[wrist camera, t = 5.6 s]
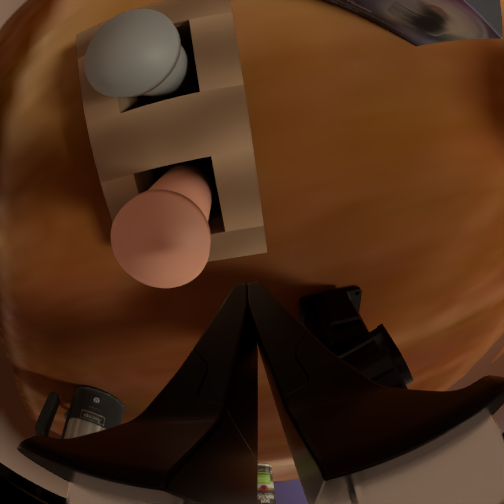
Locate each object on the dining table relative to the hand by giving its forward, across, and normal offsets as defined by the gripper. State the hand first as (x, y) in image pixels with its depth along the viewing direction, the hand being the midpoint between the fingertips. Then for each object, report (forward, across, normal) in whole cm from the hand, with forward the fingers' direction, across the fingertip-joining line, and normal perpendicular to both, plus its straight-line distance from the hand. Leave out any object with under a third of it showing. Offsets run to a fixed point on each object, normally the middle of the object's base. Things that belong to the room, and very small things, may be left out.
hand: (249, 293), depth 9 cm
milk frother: (+13, +33, +31) cm, 47 cm away
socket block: (+13, +4, -6) cm, 14 cm away
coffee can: (+14, +11, +71) cm, 73 cm away
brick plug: (+11, +4, -1) cm, 12 cm away
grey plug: (+12, +3, -10) cm, 16 cm away
